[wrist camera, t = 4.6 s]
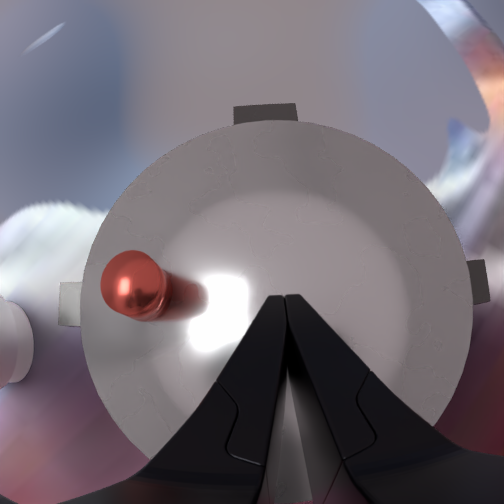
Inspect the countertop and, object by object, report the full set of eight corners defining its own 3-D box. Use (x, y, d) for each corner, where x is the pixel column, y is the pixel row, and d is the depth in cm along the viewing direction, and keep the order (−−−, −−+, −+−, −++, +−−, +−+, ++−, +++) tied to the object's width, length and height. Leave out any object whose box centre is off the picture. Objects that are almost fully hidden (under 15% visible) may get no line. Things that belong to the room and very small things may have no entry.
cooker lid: (468, 454, 8) (503, 464, 6) (95, 475, 9) (62, 490, 7) (414, 136, 14) (430, 102, 11) (118, 152, 14) (98, 120, 12)
